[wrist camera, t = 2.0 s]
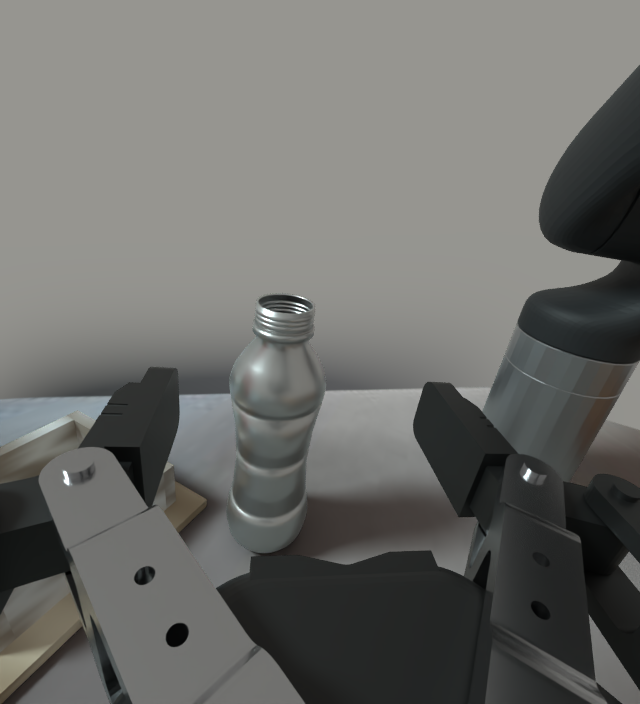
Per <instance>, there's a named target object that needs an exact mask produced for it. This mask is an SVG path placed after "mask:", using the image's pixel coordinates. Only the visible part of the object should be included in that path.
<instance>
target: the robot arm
mask: <svg viewBox="0 0 640 704" xmlns="http://www.w3.org/2000/svg"><path fill="white" fill-rule="evenodd" d="M539 223H540V228H541V231H542V233H543V235H544V237H545V238H546V239H547V240H548V241H549V242H550V243H552V244H554V245H556V246H558V247H561V248H563V249H566V250H568V251H572V252H577V253H583V254H588V255H594V256H600V257H606V258H611V259H617V260H621V262H620V263H619V265H618V266H617V267H616V268H615V269H614V270H613V272H611V273H609V274H608V275H606V276H604V277H602V278H600V279H597V280H595V281H592V282H589V283H585V284H582V285H577V286H573V287H565V288H557V289H548V290H543V291H539V292H536V293H534V294H532V295H531V296H530V297H529V298H528V299H527V301H526V303H525V305H524V306H523V309H522V312H521V314H520V316H519V319H518V322H517V324H516V327H515V330H514V332H513V335H512V337H511V340H510V342H509V345H508V347H507V350H506V353H505V355H504V358H503V360H502V363H501V365H500V368H499V370H498V373H497V376H496V378H495V381H494V383H493V386H492V388H491V391H490V393H489V396H488V398H487V401H486V403H485V406H484V408H483V411H481V410H480V409H479V408H478V407H477V406H476V405H474V404H473V403H471V402H470V401H468V400H467V399H465V398H463V397H462V396H461V395H460V393H459V392H458V391H457V390H456V389H455V387H454V386H453V385H452V384H451V383H443V382H427V383H426V384H425V386H424V388H423V391H422V394H421V397H420V401H419V404H418V407H417V411H416V414H415V418H414V422H413V430H414V435H415V438H416V440H417V442H418V443H419V445H420V447H421V449H422V451H423V453H424V454H425V456H426V458H427V460H428V462H429V464H430V465H431V467H432V469H433V471H434V473H435V475H436V476H437V478H438V480H439V482H440V484H441V486H442V487H443V489H444V491H445V493H446V495H447V497H448V498H449V500H450V502H451V504H452V506H453V508H454V509H455V511H456V513H457V515H458V517H476V518H477V520H478V522H477V524H476V527H475V529H474V533H473V537H472V542H471V546H470V551H469V555H468V560H467V564H466V569H465V573H464V576H462V575H460V574H458V573H455V572H453V571H451V570H448V569H445V568H442V567H438V566H437V564H436V561H435V559H434V557H433V554H432V552H431V551H402V552H388V553H385V554H382V555H378V556H375V557H372V558H369V559H366V560H363V561H360V562H357V563H354V564H350V565H343V564H338V563H333V562H329V561H324V560H319V559H315V558H310V557H305V556H300V555H284V556H254V557H251V563H250V573H247V574H244V575H241V576H239V577H236V578H234V579H232V580H230V581H228V582H226V583H224V584H222V585H221V586H219V587H217V588H215V586H214V585H213V584H212V582H211V581H210V579H209V578H208V576H207V575H206V573H205V572H204V570H203V569H202V567H201V566H200V564H199V563H198V562H197V560H196V559H195V557H194V556H193V554H192V553H191V551H190V550H189V548H188V547H187V545H186V544H185V542H184V541H183V539H182V538H181V537H180V535H179V534H178V532H177V531H176V529H175V528H174V526H173V525H172V523H171V522H170V520H169V519H168V517H167V516H166V515H165V513H164V512H163V510H162V509H161V508H160V507H159V506H158V505H153V502H154V499H155V496H156V493H157V490H158V487H159V484H160V481H161V478H162V475H163V472H164V469H165V466H166V463H167V460H168V457H169V454H170V451H171V448H172V445H173V442H174V439H175V436H176V433H177V429H178V424H179V386H178V385H179V384H178V371H177V369H176V368H161V367H160V368H159V367H150V368H149V369H148V371H147V372H146V374H145V376H144V378H143V379H142V381H141V383H130V382H129V383H128V384H126V385H125V386H123V387H122V388H120V389H119V390H117V391H116V392H115V393H114V394H113V396H112V397H111V399H110V400H109V402H108V403H107V406H105V408H104V409H103V411H102V412H101V415H99V417H98V418H97V420H96V421H95V423H94V424H93V426H92V427H91V429H90V430H89V432H88V433H87V435H86V436H85V438H84V440H83V441H82V443H81V444H80V446H79V447H78V449H74V450H71V451H68V452H66V453H63V454H61V455H59V456H57V457H56V458H54V459H53V460H51V461H50V462H49V463H48V464H47V465H46V466H45V467H44V468H43V469H42V471H41V472H40V475H38V476H35V477H31V478H27V479H22V480H17V481H12V482H7V483H2V484H0V615H1V613H2V611H3V609H4V607H5V605H6V603H7V601H8V599H9V598H10V596H11V594H12V592H13V590H14V588H16V587H19V586H22V585H26V584H29V583H32V582H35V581H39V580H42V579H45V578H48V577H51V576H55V575H58V574H61V573H63V574H64V577H65V580H66V582H67V585H68V588H69V590H70V593H71V596H72V598H73V601H74V604H75V606H76V609H77V612H78V614H79V617H80V620H81V622H82V625H83V628H84V630H85V633H86V636H87V638H88V641H89V644H90V647H91V650H92V653H93V657H94V660H95V663H96V666H97V669H98V672H99V675H100V678H101V681H102V684H103V686H104V689H105V692H106V695H107V697H108V700H109V703H110V704H622V703H621V702H619V701H618V700H617V699H616V698H615V697H613V696H612V695H611V694H610V693H609V692H607V691H606V690H605V689H604V688H602V687H601V686H600V685H599V684H598V683H596V680H595V672H594V662H593V653H592V643H591V634H590V624H589V615H590V617H591V618H592V620H593V621H594V623H595V624H596V626H597V627H598V629H599V630H600V632H601V633H602V635H603V636H604V638H605V639H606V641H607V642H608V644H609V645H610V647H611V648H612V650H613V651H614V653H615V654H616V656H617V657H618V659H619V660H620V662H621V663H622V665H623V666H624V668H625V669H626V671H627V672H628V674H629V675H630V677H631V678H632V680H633V681H634V683H635V684H636V686H637V687H638V689H639V690H640V592H639V591H638V590H637V588H636V587H635V586H634V585H633V583H632V582H631V581H630V580H629V579H628V577H627V576H626V575H625V574H624V572H623V571H622V570H621V569H620V568H619V566H618V565H619V564H620V563H621V561H622V560H623V559H624V557H625V556H626V555H627V553H628V552H630V553H631V554H632V555H633V556H634V557H635V558H636V560H637V561H638V562H639V563H640V488H638V487H637V486H635V485H634V484H632V483H630V482H628V481H626V480H624V479H622V478H619V477H616V476H613V475H609V474H598V475H595V476H594V478H593V479H592V481H591V482H590V484H589V486H588V487H585V486H581V485H577V484H573V483H569V482H570V480H571V479H572V477H573V475H574V474H575V472H576V470H577V468H578V467H579V465H580V463H581V461H582V460H583V458H584V456H585V455H586V453H587V451H588V449H589V448H590V446H591V444H592V442H593V441H594V439H595V437H596V436H597V434H598V432H599V430H600V429H601V427H602V425H603V424H604V422H605V420H606V418H607V417H608V415H609V413H610V411H611V410H612V408H613V406H614V405H615V403H616V401H617V399H618V398H619V396H620V394H621V392H622V390H623V389H624V387H625V385H626V383H627V382H628V380H629V378H630V377H631V375H632V373H633V371H634V370H635V368H636V366H637V365H638V363H639V361H640V65H639V66H638V67H637V68H636V70H635V71H634V72H633V73H632V74H631V75H630V76H629V77H628V78H627V79H626V80H625V82H624V83H623V84H622V85H621V86H620V87H619V88H618V89H617V91H615V93H614V94H613V95H612V96H611V97H610V98H609V99H608V100H607V101H606V103H605V104H604V105H603V106H602V107H601V108H600V109H599V110H598V111H597V113H596V114H595V115H594V116H593V117H592V118H591V119H590V120H589V122H588V123H587V124H586V125H585V126H584V127H583V129H582V130H581V131H580V132H579V134H578V135H577V136H576V137H575V139H574V140H573V141H572V143H571V144H570V145H569V147H568V148H567V150H566V151H565V153H564V154H563V156H562V157H561V159H560V161H559V162H558V164H557V165H556V167H555V169H554V171H553V173H552V174H551V176H550V179H549V181H548V183H547V185H546V188H545V190H544V193H543V196H542V199H541V203H540V208H539ZM152 505H153V506H152ZM588 614H589V615H588Z"/></svg>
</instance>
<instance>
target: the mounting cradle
mask: <svg viewBox="0 0 640 704" xmlns="http://www.w3.org/2000/svg"><path fill="white" fill-rule="evenodd" d="M94 423H95V420H94V419H92V418H90V417H88V416H87V415H85V414H83V413H81V412H80V411H78V410H77V411H75V412H73V413H71V414H69V415H67V416H65V417H63V418H60V419H58V420H56V421H54V422H52V423H50V424H48V425H46V426H44V427H42V428H39V429H37V430H35V431H33V432H31V433H29V434H27V435H25V436H23V437H21V438H18V439H16V440H14V441H12V442H10V443H8V444H6V445H4V446H2V447H0V484H2V483H7V482H12V481H17V480H22V479H27V478H31V477H35V476H38V475H40V472H41V471H42V469H43V468H44V467H45V466H46V465H47V464H48V463H49V462H50V461H51V460H53V459H54V458H56V457H57V456H59V455H61V454H63V453H66V452H68V451H71V450H74V449H78V447H79V446H80V444H81V443H82V441H83V440H84V438H85V436H86V435H87V433H88V432H89V430H90V429H91V427H92V426H93V424H94ZM153 505H158V506H159V507H160V508H161V509H162V510H163V512H164V513H165V515H166V516H167V517H168V519H169V520H170V522H171V523H172V525H173V526H174V528H175V529H176V531H177V532H178V533H179V532H180V531H181V530H182V529H183V528H184V527H186V526H187V525H188V524H189V523H190V522H191V521H192V520H193V519H194V518H195V517H196V516H197V515H198V514H199V513H200V512H201V511H202V510H203V509H204V508H205V507H206V506H207V499H205V498H203V497H201V496H200V495H198V494H196V493H195V492H193V491H191V490H190V489H188V488H186V487H185V486H183V485H181V484H179V483H178V482H176V481H175V478H174V465H172V464H171V463H169V462H167V463H166V466H165V469H164V472H163V475H162V478H161V481H160V484H159V487H158V490H157V493H156V496H155V499H154V502H153ZM153 505H152V506H153ZM82 626H83V625H82V622H81V620H80V617H79V614H78V612H77V609H76V606H75V604H74V601H73V598H72V596H71V593H70V590H69V588H68V585H67V582H66V580H65V577H64V574H63V573H61V574H58V575H55V576H51V577H48V578H45V579H42V580H39V581H35V582H32V583H29V584H26V585H22V586H19V587H16V588H14V590H13V592H12V594H11V596H10V598H9V599H8V601H7V603H6V605H5V607H4V609H3V611H2V613H1V615H0V704H2V703H3V702H4V701H5V700H6V699H7V698H8V697H9V696H10V695H11V694H12V693H13V692H14V691H15V690H16V689H17V688H18V687H19V686H20V685H21V684H23V683H24V682H25V681H26V680H27V679H28V678H29V677H30V676H31V675H32V674H33V673H34V672H35V671H36V670H37V669H38V668H39V667H40V666H41V665H42V664H43V663H44V662H45V661H46V660H47V659H48V658H50V657H51V656H52V655H53V654H54V653H55V652H56V651H57V650H58V649H59V648H60V647H61V646H62V645H63V644H64V643H65V642H66V641H67V640H68V639H69V638H70V637H71V636H72V635H73V634H74V633H75V632H77V631H78V630H79V629H80V628H81V627H82Z"/></svg>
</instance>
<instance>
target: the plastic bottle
mask: <svg viewBox="0 0 640 704" xmlns="http://www.w3.org/2000/svg"><path fill="white" fill-rule="evenodd" d="M255 309H256V310H255V319H254V320H253V332H254V333H255V335H256V338H254V339H253V341H252V342H251V343H250V344H249V345H248V346H247V347H246V348H245V349H244V350H243V352H242V353H241V354H240V356H239V357H238V358H237V360H236V362H235V363H234V366H233V369H232V372H231V375H230V380H229V381H230V393H231V400H232V407H233V413H234V420H235V431H236V463H235V470H234V477H233V483H232V486H231V489H230V492H229V496H228V501H227V508H226V514H227V520H228V524H229V529H230V531H231V534H232V536H233V537H234V539H235V540H236V541H237V542H238V543H239V544H240V545H241V546H243V547H244V548H246V549H248V550H250V551H253V552H256V553H271V552H275V551H278V550H280V549H283V548H285V547H286V546H288V545H289V544H291V543H292V542H293V541H294V540H295V539H296V537H297V536H298V534H299V532H300V530H301V528H302V526H303V523H304V521H305V518H306V515H307V492H306V462H307V455H308V449H309V446H310V441H311V436H312V431H313V428H314V425H315V422H316V419H317V416H318V413H319V410H320V407H321V404H322V400H323V398H324V393H325V389H326V379H325V373H324V368H323V366H322V364H321V361H320V360H319V357H318V355H317V354H316V352H315V350H314V349H313V347H312V346H311V344H310V343H309V340H310V339H311V338H312V337H313V334H314V324H313V323H314V315H315V305H314V303H313V302H312V301H310V300H309V299H307V298H304V297H301V296H298V295H293V294H286V293H272V294H266V295H263V296H260V297H259V298H258V299H257V302H256V308H255Z"/></svg>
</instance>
